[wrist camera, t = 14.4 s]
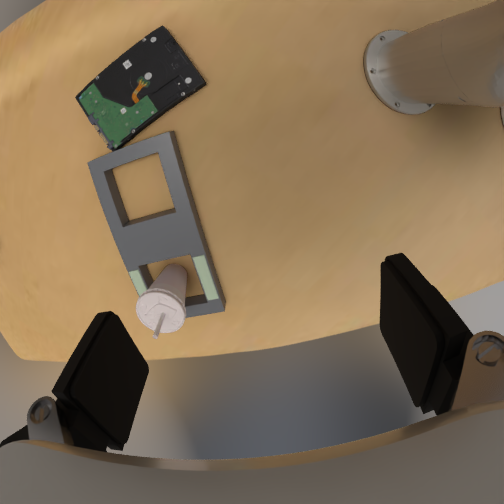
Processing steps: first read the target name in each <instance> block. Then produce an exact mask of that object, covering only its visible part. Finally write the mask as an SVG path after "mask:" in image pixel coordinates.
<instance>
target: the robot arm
mask: <svg viewBox="0 0 504 504" xmlns="http://www.w3.org/2000/svg"><path fill="white" fill-rule="evenodd" d="M380 39H381V40H380ZM364 69H365V75H366V77H367V80H368V83H369V85H370V86H371V88H372V90H373V91H374V93H375V94H376V95H377V97H378V98H379V99H380V100H381V101H382V102H383V103H384V104H385V105H387V106H388V107H390V108H391V109H393V110H395V111H397V112H400V113H404V114H411V115H413V114H421V113H425V112H426V111H428V110H430V109H431V108H432V107H433V106H434V105H435V104H454V105H471V106H483V107H503V106H504V0H497V1H494V2H492V3H490V4H488V5H485V6H482V7H479V8H476V9H473V10H471V11H468V12H465V13H462V14H459V15H456V16H453V17H450V18H447V19H444V20H441V21H438V22H436V23H433V24H430V25H428V26H425V27H422V28H420V29H417V30H415V31H412V32H410V33H407V32H405V31H400V30H388V31H384V32H382V33H380V34H378V35H376V36H375V37H374V38H372V40H371V41H370V42H369V43H368V45H367V48H366V50H365V54H364ZM370 70H371V72H372V73H370ZM395 104H396V106H395ZM380 330H381V333H382V335H383V337H384V339H385V341H386V343H387V345H388V347H389V350H390V352H391V354H392V356H393V358H394V360H395V362H396V364H397V367H398V369H399V371H400V373H401V376H402V378H403V380H404V382H405V384H406V387H407V389H408V391H409V393H410V396H411V398H412V401H413V403H414V405H415V406H416V407H419V406H420V407H421V409H422V412H423V414H425V413H427V412H430V411H432V410H434V411H435V413H436V415H438V416H435V417H432V418H429V419H426V420H423V421H420V422H417V423H414V424H411V425H409V426H406V427H403V428H399V429H396V430H394V431H390V432H387V433H384V434H380V435H376V436H373V437H369V438H365V439H361V440H357V441H353V442H349V443H345V444H341V445H336V446H331V447H326V448H321V449H316V450H311V451H305V452H298V453H292V454H284V455H276V456H267V457H257V458H244V459H227V460H226V459H224V460H181V459H162V458H149V457H137V456H129V455H122V454H114V453H108V452H107V451H106V448H107V446H108V447H109V448H110V449H114V450H121V451H122V450H123V447H124V444H125V443H126V442H127V441H128V438H129V435H130V431H131V428H132V424H133V421H134V417H135V414H136V411H137V408H138V404H139V401H140V398H141V394H142V391H143V389H144V385H145V382H146V379H147V376H148V373H149V367H148V364H147V362H146V361H145V359H144V358H143V356H142V355H141V353H140V351H139V350H138V348H137V347H136V345H135V343H134V342H133V340H132V338H131V337H130V335H129V333H128V332H127V330H126V328H125V327H124V325H123V323H122V321H121V320H120V318H119V316H118V315H116V314H114V313H113V312H112V311H108V312H101V313H98V314H97V315H96V316H95V318H94V319H93V321H92V322H91V324H90V326H89V327H88V329H87V330H86V332H85V334H84V335H83V337H82V339H81V340H80V342H79V343H78V345H77V347H76V349H75V350H74V352H73V354H72V355H71V357H70V359H69V361H68V362H67V364H66V366H65V368H64V369H63V371H62V373H61V375H60V377H59V379H58V380H57V382H56V384H55V386H54V388H53V390H52V393H53V394H54V395H55V396H56V397H57V400H56V401H55V400H54V399H52V398H51V397H48V396H45V397H42V398H39V399H38V400H36V401H35V402H34V403H33V404H32V406H31V407H30V409H29V411H28V414H27V424H28V425H26V426H25V427H23V428H22V429H20V430H19V431H17V432H15V433H14V434H12V435H11V436H9V437H8V438H6V439H5V440H3V441H2V442H1V444H0V504H504V336H502V335H501V334H499V333H496V332H493V331H483V332H479V333H477V334H475V335H473V334H472V332H470V330H469V329H468V327H467V326H466V325H465V323H464V322H463V321H462V319H461V318H460V317H459V316H458V314H457V313H456V312H455V310H454V309H453V308H452V307H451V305H450V304H449V303H448V302H447V301H446V299H445V298H444V297H443V296H442V295H441V293H440V292H439V291H438V290H437V289H436V288H435V287H434V286H433V285H431V284H430V283H429V282H428V281H427V279H426V278H425V277H424V276H423V275H422V274H421V273H420V271H419V270H418V269H417V268H416V267H415V266H414V265H413V264H412V263H411V261H410V260H409V259H408V258H407V257H406V256H405V255H404V254H403V253H398V254H394V255H390V256H387V257H386V258H385V261H384V262H382V263H381V300H380Z"/></svg>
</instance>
